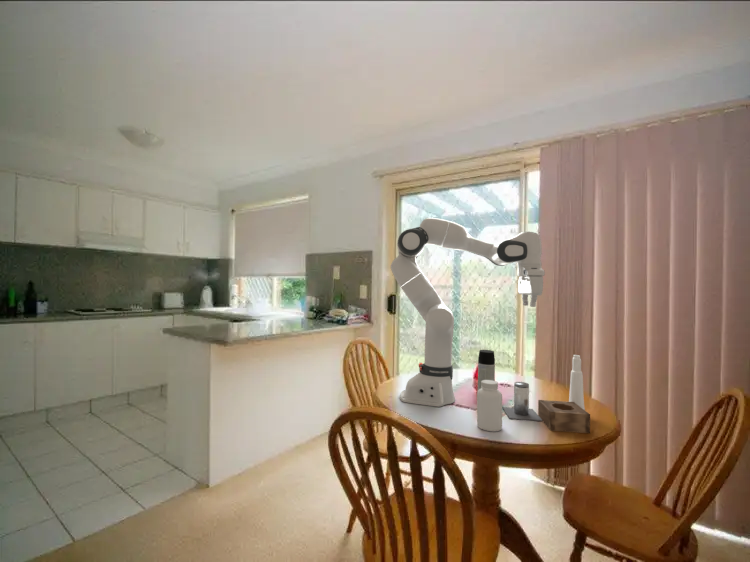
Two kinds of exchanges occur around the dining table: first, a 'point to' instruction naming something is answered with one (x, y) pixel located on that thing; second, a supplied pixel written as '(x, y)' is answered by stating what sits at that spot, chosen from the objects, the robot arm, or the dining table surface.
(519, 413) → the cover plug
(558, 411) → the socket block
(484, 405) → the pill bottle
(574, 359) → the cosmetic bottle
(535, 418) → the mat
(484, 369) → the spray can
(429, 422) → the dining table surface
